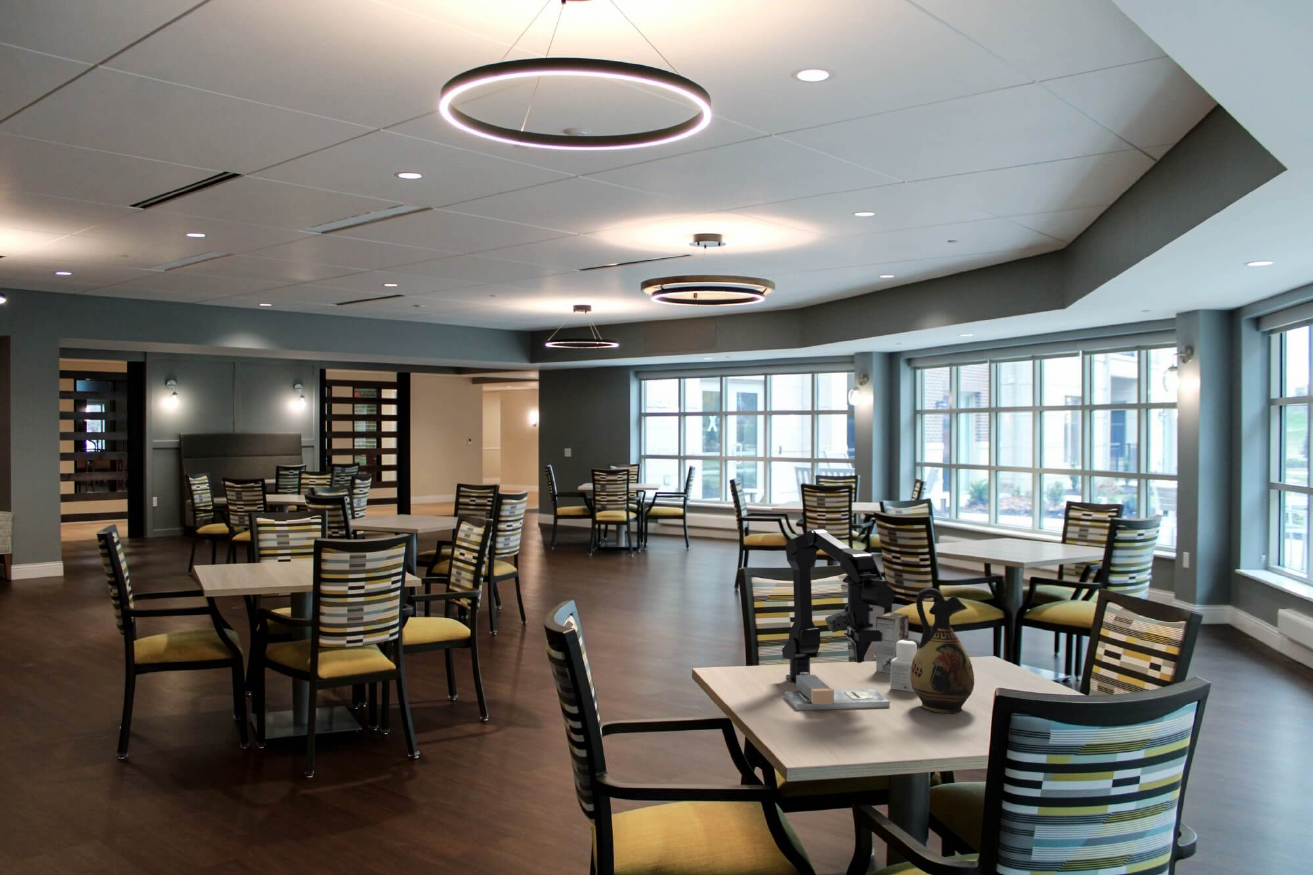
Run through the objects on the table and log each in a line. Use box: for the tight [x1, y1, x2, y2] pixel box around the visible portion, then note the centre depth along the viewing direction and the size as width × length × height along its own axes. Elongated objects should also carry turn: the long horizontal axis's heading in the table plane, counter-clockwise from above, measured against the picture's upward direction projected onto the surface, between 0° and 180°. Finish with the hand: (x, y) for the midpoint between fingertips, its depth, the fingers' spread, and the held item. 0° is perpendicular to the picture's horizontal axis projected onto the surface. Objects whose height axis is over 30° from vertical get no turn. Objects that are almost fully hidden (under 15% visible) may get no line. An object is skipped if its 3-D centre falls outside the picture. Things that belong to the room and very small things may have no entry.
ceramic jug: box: [910, 587, 975, 715], centre depth 241 cm, size 17×15×30 cm
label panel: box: [784, 688, 891, 711], centre depth 246 cm, size 12×24×2 cm, turn 97°
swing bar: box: [795, 672, 835, 704], centre depth 246 cm, size 19×5×5 cm, turn 7°
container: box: [890, 638, 921, 693], centre depth 261 cm, size 8×8×13 cm
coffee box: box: [875, 611, 909, 675], centre depth 281 cm, size 9×6×16 cm
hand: (858, 662), depth 247 cm, fingers closed
